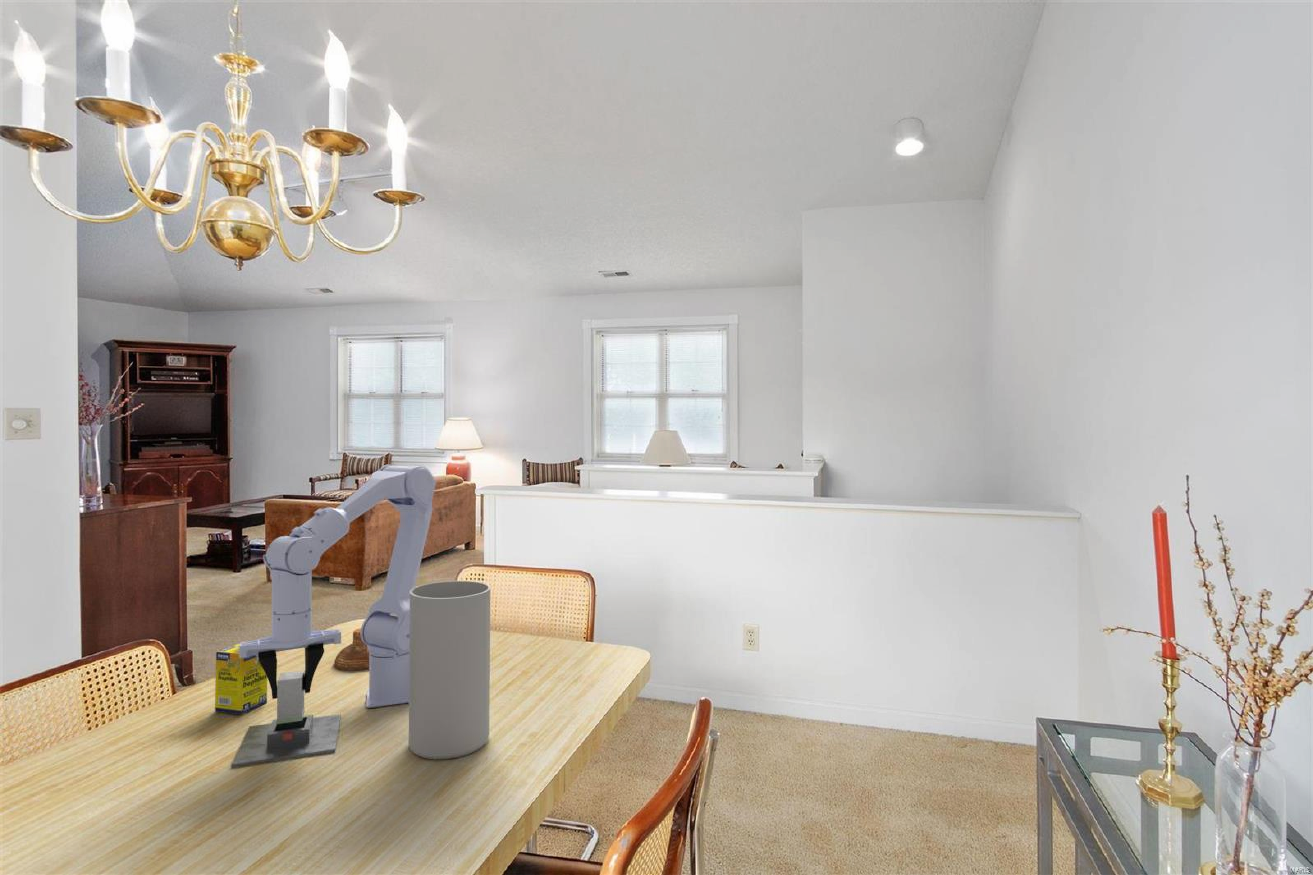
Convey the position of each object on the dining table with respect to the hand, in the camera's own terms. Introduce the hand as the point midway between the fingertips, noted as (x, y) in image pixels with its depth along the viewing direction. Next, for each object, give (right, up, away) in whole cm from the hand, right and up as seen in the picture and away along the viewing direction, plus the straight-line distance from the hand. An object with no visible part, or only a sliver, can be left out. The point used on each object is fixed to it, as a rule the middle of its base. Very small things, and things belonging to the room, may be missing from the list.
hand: (291, 693), depth 109 cm
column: (0, -5, 0) cm, 4 cm away
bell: (-5, -8, +38) cm, 39 cm away
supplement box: (-16, -8, +13) cm, 22 cm away
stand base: (0, -8, 0) cm, 8 cm away
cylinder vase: (+26, -8, 0) cm, 27 cm away
